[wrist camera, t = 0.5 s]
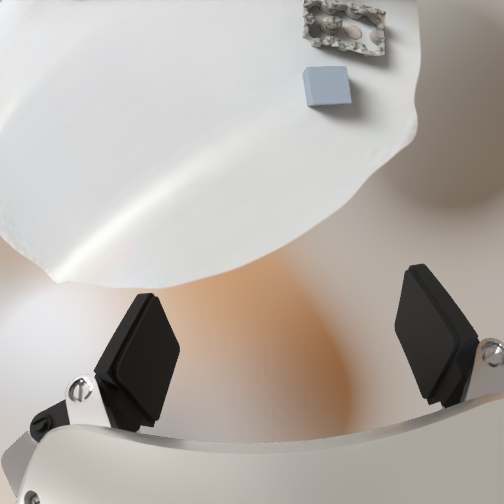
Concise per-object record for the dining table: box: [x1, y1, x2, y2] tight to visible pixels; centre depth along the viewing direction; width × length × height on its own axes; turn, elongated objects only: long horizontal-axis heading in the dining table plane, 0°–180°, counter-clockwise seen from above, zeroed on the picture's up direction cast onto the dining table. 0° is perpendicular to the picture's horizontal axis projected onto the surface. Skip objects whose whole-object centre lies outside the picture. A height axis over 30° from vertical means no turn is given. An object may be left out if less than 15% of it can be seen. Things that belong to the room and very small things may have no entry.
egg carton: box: [302, 0, 386, 57], centre depth 23 cm, size 11×8×4 cm
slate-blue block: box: [302, 66, 352, 106], centre depth 27 cm, size 4×4×4 cm
